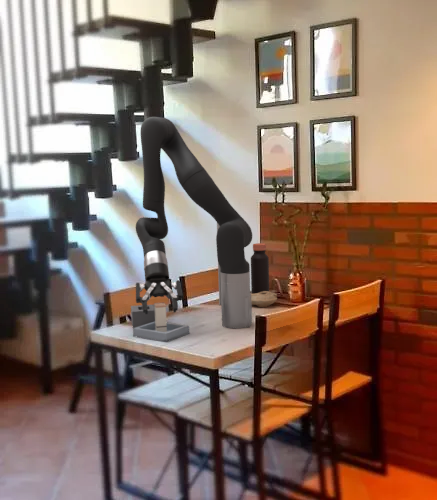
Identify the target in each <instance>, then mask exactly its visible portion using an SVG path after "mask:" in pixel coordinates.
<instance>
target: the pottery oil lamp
mask: <svg viewBox="0 0 437 500" xmlns="http://www.w3.org/2000/svg"><path fill="white" fill-rule="evenodd" d="M250 294H251V301H252V305H253V306H257V307H260V308H268V307H270V305H273V304H274V303H275V302H276V301H277V300H278V296H277V295H278V294H277V293H275V292H271V291H270V290H269V291H263V292H259V293H255V294H252V293H250ZM267 306H268V307H267Z"/></svg>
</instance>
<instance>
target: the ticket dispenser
mask: <svg viewBox="0 0 437 500" xmlns="http://www.w3.org/2000/svg"><path fill="white" fill-rule="evenodd" d="M147 309H148V314H145V313H143V308H142V304H141V305H140V304H139V305H130V311H131V312H130V314H131V315H130V316H131V317H130V318H131V327H132V326H133V327H132V329H133V328H136V327H139V326H142V325H145V324H148V323H151V322H154V321H155V306H154V304H147Z"/></svg>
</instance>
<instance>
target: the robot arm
mask: <svg viewBox="0 0 437 500" xmlns="http://www.w3.org/2000/svg"><path fill="white" fill-rule="evenodd" d="M140 142H141V144H140V145H141V153H142V164H143V165H142V166H143V167H142V168H143V190H142V191H143V192H142V208H143V209H144V210H146V211H150V212H154V213H155V214H156V215H157V217H146V216H145V217H140V218H139V219H137V221H136V222H135V223H136V224H135V233H136V235H137V237H138V238H137V239H138V240H139V242H140V244H141V246H142V249H143V250H142V251H143V271H144V272H143V273H144V279H145V280H144V281H145V283H144V284H141V283H140V282H136V283H135V303H136V304H139V303H140V304H141V305H142V308H143V313H145V314H148V309H147V305H148V301H150V300H151V298H152V297H153V298H158V297H161V298H163V297H166V298H167V299H169V300H171V302H172V311H173V313H176V312H177V311H178V309H179V305H178V302H179V301H183V295H184V294H183V289H182V284H181V281H180V280H179V279H177V280H176V281H175V282H172V281H170V279H171V278H170V272H169V263H168V258H167V254H166V253H167V252H166V246H165V245H166V244H165V242H164V241H163V240H164V239H165V238H166V237H167V235H168V234H169V227H168V221H167V217H166V213H165V212H166V211H165V199H166V197H165V196H166V193H165V192H166V186H165V185H166V183H165V177H164V173H163V169H162V165H161V163H162V162H161V153H162V151H163V152H164V153H165V154H166V155H167V157H168V158H169V159H170V161H171V163H172V165H173V168H174V171H175V175H176V177H177V180H178V182H179V185H180V186H181V188H182V189H183V190H184V191H185V193H186V195H187V196H188V197H189V198H190V199H191V200H192V201H193V203H195V204H196V205H197V206H198V207H200V208H201V209H202V210H203V211H205V212H206V213H208V214H209V215H210V216H211V217H212V218H213V219H214V221H215V222H216V224H217V223H218V224H219V226H220V227H219V229H218V231H217V230H216V239H215V240H216V243H215V244H216V257H217V264H218V263H219V266H220V274H221V305H220V306H221V307H220V308H221V325H222V327H224V328H227V329H228V328H229V329H243V328H250V327H251V325H252V324H253V315H252V314H253V309H252V308H253V307H252V301H251V294H252V293H251V265H250V263H249V261H248V260H246V257H245V256H246V253H245V248H246V247H248V246H249V245H250V244H252V240H253V232H252V228H251V226H250V225H249V223H248V222H247V221H246V220H245V219H244V218H243V217H242V216H241V215H240V214H239V212H238V211H237V210H236V209H235V207H233V206H232V204H231V203H230V202H229V201H228V199H227V198H226V197H225V195H224V194H223V192H222V191H221V190H220V188H219V187H218V185H217V184H216V183H215V181H214V179H213V178H212V177H211V176H210V174H209V172H207V170H206V169H205V168H204V167H203V165H202V164H201V162H200V161H199V160H198V159H197V157H196V156H195V155H194V153H193V151H191V149H190V148H189V147H188V145H187V144H186V142H185V141H184V139H183V137H182V135H181V134H180V132H179V130H178V128H177V127H176V125H175V124H174V123H173V122H172V120H170V119H168V118H167V117H159V116H150V117H147V118H145V120H143V122H142V123H141V125H140ZM161 150H162V151H161ZM162 239H163V240H162ZM172 288H174V289H175V290H176V294H175V292H174V291H173V289H172ZM143 289H144V290H145V291H146V292H145V294H144V295H142V296H141V292H142V291H143Z"/></svg>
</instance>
